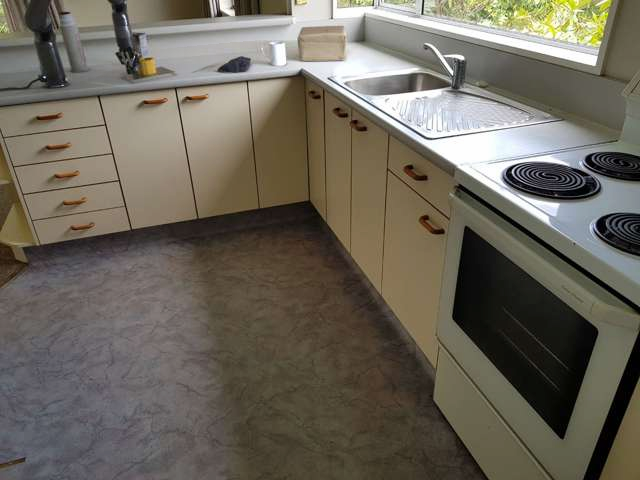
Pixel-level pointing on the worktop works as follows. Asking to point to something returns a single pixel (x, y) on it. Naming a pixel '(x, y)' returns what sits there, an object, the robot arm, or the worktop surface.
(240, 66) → the dark slate chunk
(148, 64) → the pot
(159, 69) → the board
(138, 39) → the coffee box
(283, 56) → the mug
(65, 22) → the thermos bottle
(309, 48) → the paper package
